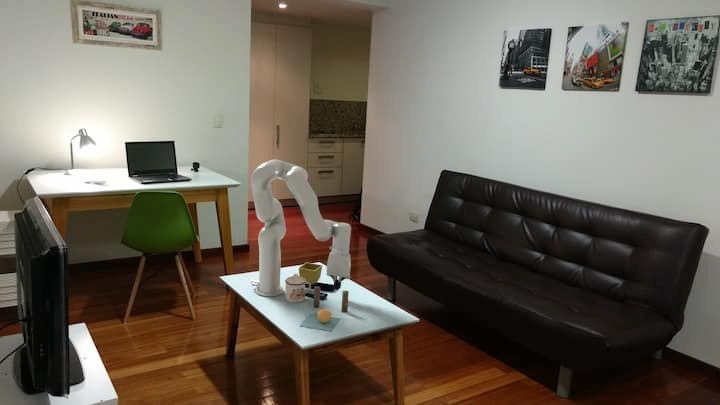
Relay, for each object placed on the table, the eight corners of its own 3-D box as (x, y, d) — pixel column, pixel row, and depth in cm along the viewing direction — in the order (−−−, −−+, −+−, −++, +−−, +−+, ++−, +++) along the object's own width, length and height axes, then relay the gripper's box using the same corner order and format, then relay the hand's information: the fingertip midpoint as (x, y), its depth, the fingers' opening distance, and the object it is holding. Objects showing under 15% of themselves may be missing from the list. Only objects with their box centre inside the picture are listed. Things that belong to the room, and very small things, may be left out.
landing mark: (299, 326, 222) (299, 325, 222) (310, 313, 234) (310, 313, 234) (330, 331, 219) (330, 330, 219) (340, 318, 231) (340, 317, 231)
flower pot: (314, 288, 262) (315, 270, 260) (297, 285, 265) (298, 267, 263) (322, 282, 270) (322, 265, 268) (305, 279, 273) (306, 262, 271)
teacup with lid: (289, 304, 243) (290, 279, 240) (281, 297, 250) (282, 272, 248) (314, 300, 249) (315, 275, 246) (306, 293, 256) (306, 269, 254)
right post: (340, 312, 238) (341, 292, 236) (342, 309, 240) (343, 290, 238) (346, 312, 237) (347, 293, 235) (348, 310, 239) (349, 290, 238)
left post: (312, 307, 240) (313, 288, 239) (314, 305, 243) (315, 286, 241) (318, 308, 240) (319, 288, 238) (320, 306, 242) (321, 286, 240)
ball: (316, 308, 225) (320, 309, 230) (315, 321, 223) (319, 323, 228) (329, 308, 224) (333, 310, 229) (328, 322, 222) (332, 323, 227)
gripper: (321, 250, 246) (318, 289, 250) (354, 255, 242) (350, 295, 246) (326, 245, 253) (323, 283, 257) (358, 251, 249) (355, 289, 253)
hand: (336, 289), depth 252 cm, fingers closed
